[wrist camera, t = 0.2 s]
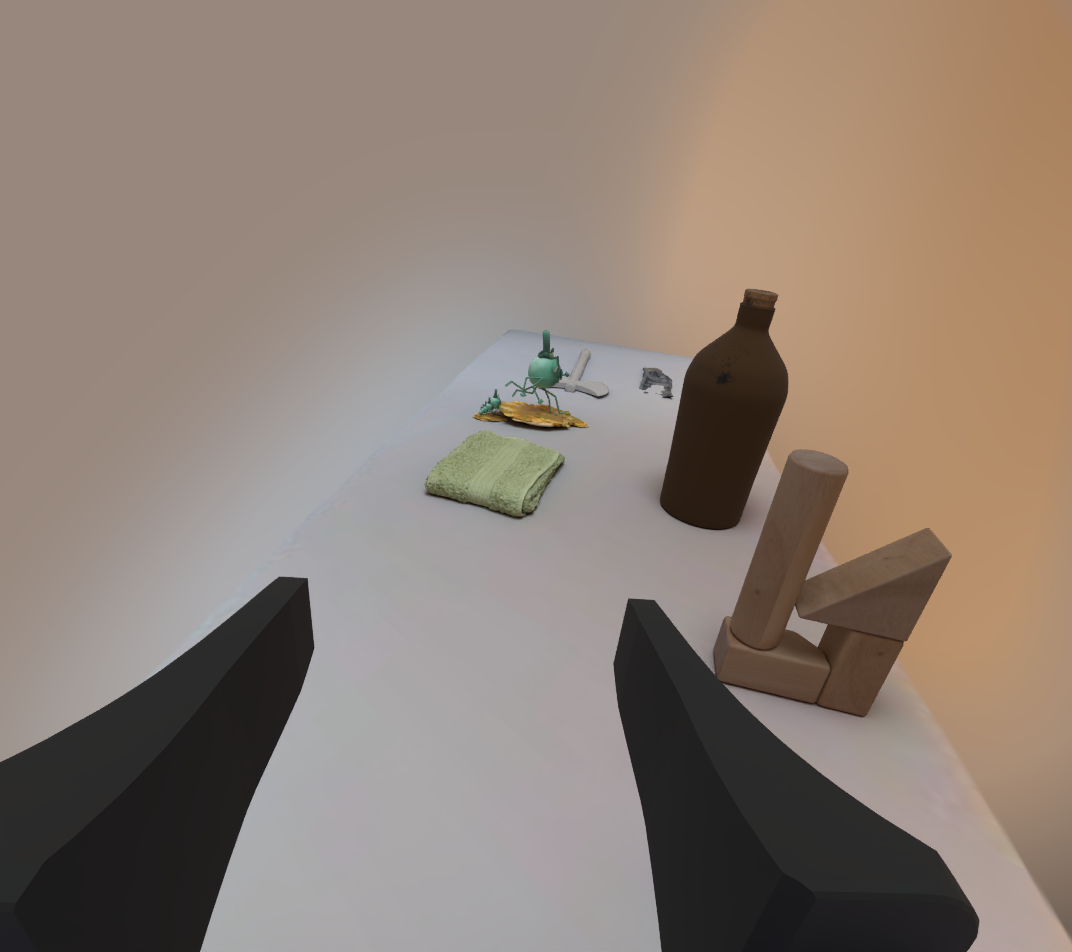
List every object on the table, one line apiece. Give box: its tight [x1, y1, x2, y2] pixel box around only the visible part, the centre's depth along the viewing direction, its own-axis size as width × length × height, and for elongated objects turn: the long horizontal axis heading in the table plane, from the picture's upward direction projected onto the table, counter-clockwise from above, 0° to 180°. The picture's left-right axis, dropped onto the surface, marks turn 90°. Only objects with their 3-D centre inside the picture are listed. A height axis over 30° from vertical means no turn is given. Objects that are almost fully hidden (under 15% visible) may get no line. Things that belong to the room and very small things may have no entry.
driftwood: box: [639, 368, 673, 397], centre depth 117 cm, size 21×7×2 cm, turn 167°
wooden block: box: [714, 450, 951, 716], centre depth 39 cm, size 4×11×18 cm, turn 78°
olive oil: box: [660, 289, 788, 529], centre depth 62 cm, size 11×11×25 cm
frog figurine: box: [474, 330, 589, 427], centre depth 86 cm, size 10×18×15 cm, turn 91°
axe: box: [552, 349, 609, 396], centre depth 115 cm, size 30×14×2 cm, turn 170°
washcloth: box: [424, 430, 565, 517], centre depth 68 cm, size 13×18×3 cm
